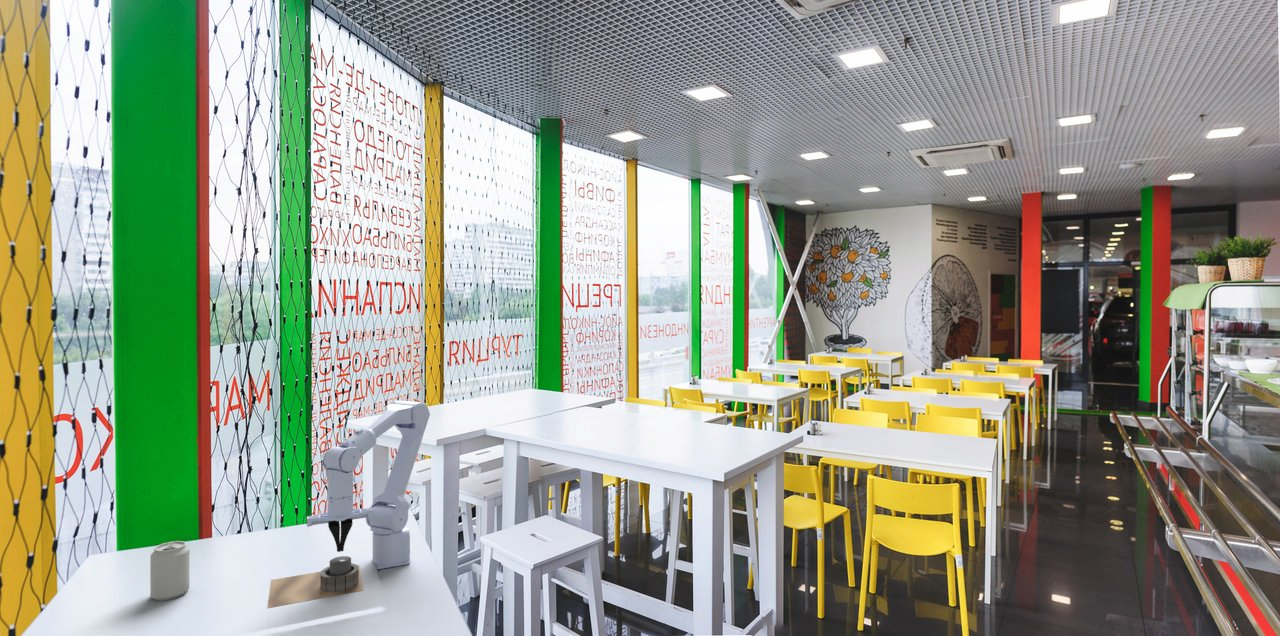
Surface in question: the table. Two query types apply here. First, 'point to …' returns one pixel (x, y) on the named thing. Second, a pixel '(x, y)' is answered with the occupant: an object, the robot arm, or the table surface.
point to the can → (169, 570)
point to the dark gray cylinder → (340, 566)
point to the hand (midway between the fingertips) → (340, 550)
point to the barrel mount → (313, 586)
